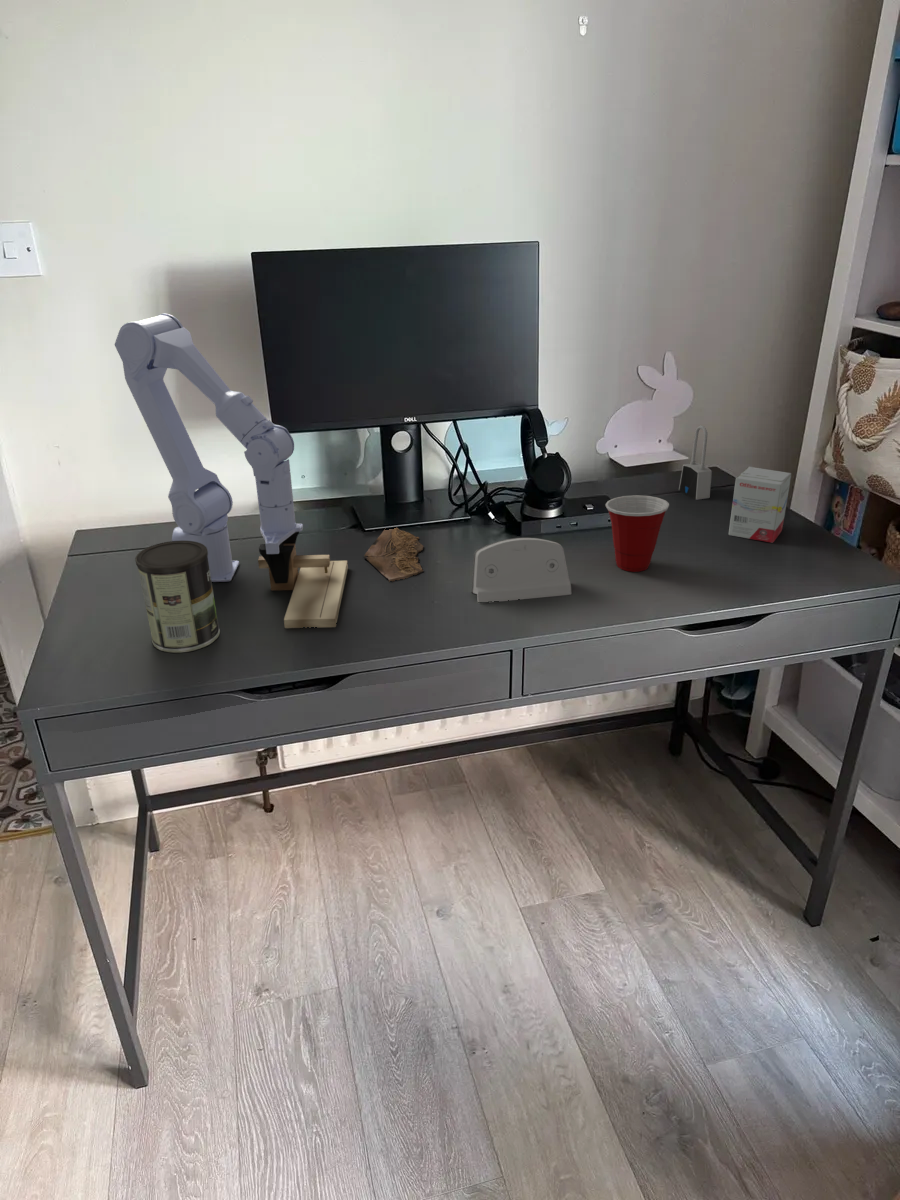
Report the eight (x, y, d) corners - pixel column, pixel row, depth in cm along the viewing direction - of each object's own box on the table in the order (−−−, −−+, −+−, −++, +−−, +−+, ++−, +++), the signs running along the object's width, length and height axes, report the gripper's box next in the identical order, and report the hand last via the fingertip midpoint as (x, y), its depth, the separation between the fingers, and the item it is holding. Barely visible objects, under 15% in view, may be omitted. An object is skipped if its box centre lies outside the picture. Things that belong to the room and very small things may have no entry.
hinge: (476, 603, 143) (472, 543, 141) (470, 600, 147) (466, 541, 146) (573, 594, 145) (570, 534, 144) (565, 591, 150) (562, 533, 148)
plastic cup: (630, 548, 162) (636, 487, 157) (675, 567, 154) (682, 504, 149) (588, 562, 156) (592, 500, 151) (632, 583, 148) (638, 518, 143)
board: (284, 628, 136) (283, 619, 135) (303, 569, 156) (302, 561, 155) (335, 627, 136) (335, 618, 135) (347, 568, 156) (347, 560, 155)
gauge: (259, 590, 148) (254, 552, 145) (264, 578, 152) (259, 540, 149) (329, 589, 148) (326, 550, 145) (332, 576, 152) (329, 539, 149)
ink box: (783, 529, 169) (793, 471, 164) (772, 544, 163) (782, 484, 157) (739, 521, 173) (747, 464, 168) (726, 535, 167) (735, 476, 161)
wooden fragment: (423, 582, 151) (423, 577, 150) (360, 584, 150) (359, 579, 150) (423, 526, 174) (423, 521, 173) (368, 528, 173) (368, 523, 173)
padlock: (711, 497, 185) (720, 428, 178) (694, 500, 184) (703, 431, 177) (693, 487, 191) (701, 420, 184) (677, 490, 190) (684, 422, 183)
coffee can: (207, 614, 140) (194, 534, 134) (229, 640, 133) (217, 557, 126) (143, 632, 135) (126, 549, 129) (162, 660, 128) (146, 574, 121)
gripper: (293, 517, 137) (301, 593, 143) (305, 486, 150) (312, 557, 156) (249, 518, 137) (258, 594, 143) (264, 487, 150) (273, 558, 156)
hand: (284, 575), depth 149 cm, fingers closed on gauge, 5 cm apart
